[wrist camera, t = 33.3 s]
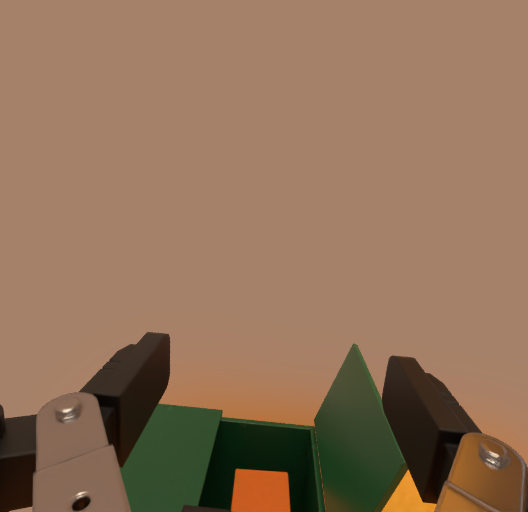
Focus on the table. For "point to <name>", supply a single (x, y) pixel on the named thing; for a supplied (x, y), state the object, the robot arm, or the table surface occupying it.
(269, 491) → the block
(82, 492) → the robot arm
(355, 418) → the green box lid flap
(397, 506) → the table surface
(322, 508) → the green flap box
